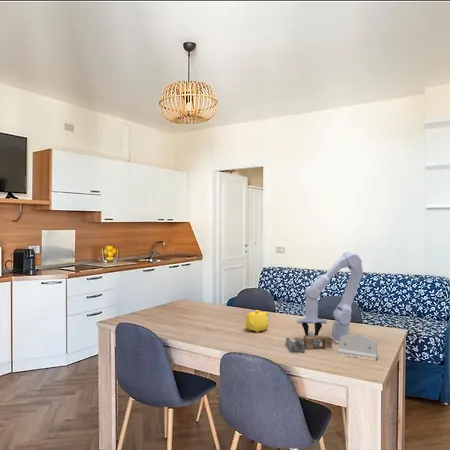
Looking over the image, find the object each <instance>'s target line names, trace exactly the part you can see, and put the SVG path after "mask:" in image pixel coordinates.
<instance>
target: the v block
mask: <svg viewBox="0 0 450 450" xmlns="http://www.w3.org/2000/svg"><path fill="white" fill-rule="evenodd" d="M294 339H295V341H292V339H291V338H290V337H285V346H286V347H287V346H288V347H287V349H288V350H289V349H290V350H289V351H290V353H291V352H306V348H305V345H304V342H303V341H302V340H301V339H300V338H299V337H295V338H294Z"/></svg>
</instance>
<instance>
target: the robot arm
mask: <svg viewBox="0 0 450 450" xmlns="http://www.w3.org/2000/svg"><path fill="white" fill-rule="evenodd" d="M362 261H363V260H362V259H361V257H360V255H359V254H357V253H353V252H352V253H351V252H349V251H347V252H344V253H343V254H342V255H341V256H340V257H338V258H337V260H336V261H335V262H334V264H332V265H331V267H330V268H329V269H328V270H327V271H326V273H325V274H320V275H317V276H316V279H315V280H314V281H313V282H311V283H310V286H309V285H308V286H307V287H306V288H305V291H304V293H305V295H306V299H305V318H303V317H302V318H296V324H298V325H299V324H301V326H302V328H303V330H304V336H308V332H309V324H314V334H315V335H316V336H319V333H320V331H321V328H322V327H323V324H324V325H327V321H328V320H327V319H326V318H318V317H319V316H318V315H319V314H318V313H319V297H320V295H321V292H323V290H324V289H326V287H328V285H329V284H330V281H331V279H332V278H333V277H334V276H335V275H336V274H337V273H338V272H339V271H340V270H341V269H345V268H348V270H349V271H350V275H349V278H348V281H347V283H346V286H345V289H344V291H343V294H342V298H341V300H340V302H339V303H338V304H337V306H336V308H335V309H334V310H333V312H332V316H333V318H334V319H335V320H334V321H333V323H332V325H331V327H332V328H331V330H332V331H331V337H333V338H334V340H335V343H336V341H338V342H340V338H341V336H344V335H350V323H351V320H352V312H353V310H352V305H353V303H354V299H355V296H356V293H357V291H358V288H359V286H360V282H361V280H362V277H363V274H364V271H363V266H362V265H363V264H362ZM333 338H332V339H333Z"/></svg>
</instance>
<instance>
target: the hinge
mask: <svg viewBox="0 0 450 450" xmlns="http://www.w3.org/2000/svg"><path fill="white" fill-rule="evenodd" d="M377 347H378V346H377V341H376V340H374V339H373V338H370V337H368V336H365V335H361V334H349V335H344V336H341V338H340V343H338V348H337V354H344V355H352V356H360V357H367V358H374V359H376V360H377V359H378V358H377V356H378V348H377ZM378 357H379V356H378Z"/></svg>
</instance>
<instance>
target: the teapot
mask: <svg viewBox="0 0 450 450" xmlns="http://www.w3.org/2000/svg"><path fill="white" fill-rule="evenodd" d="M245 316H246V319H245V328H246V329H248V331H250V332H251V331H255V333H256V334H257V333H260V331H262V332H265V330H267V329H268V328H269V325H270V324H269V323H270V321H269V318H268V312H267V311H260V310H259V309H256V310H255V311H251V312H249V313H247V314H245Z"/></svg>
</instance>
